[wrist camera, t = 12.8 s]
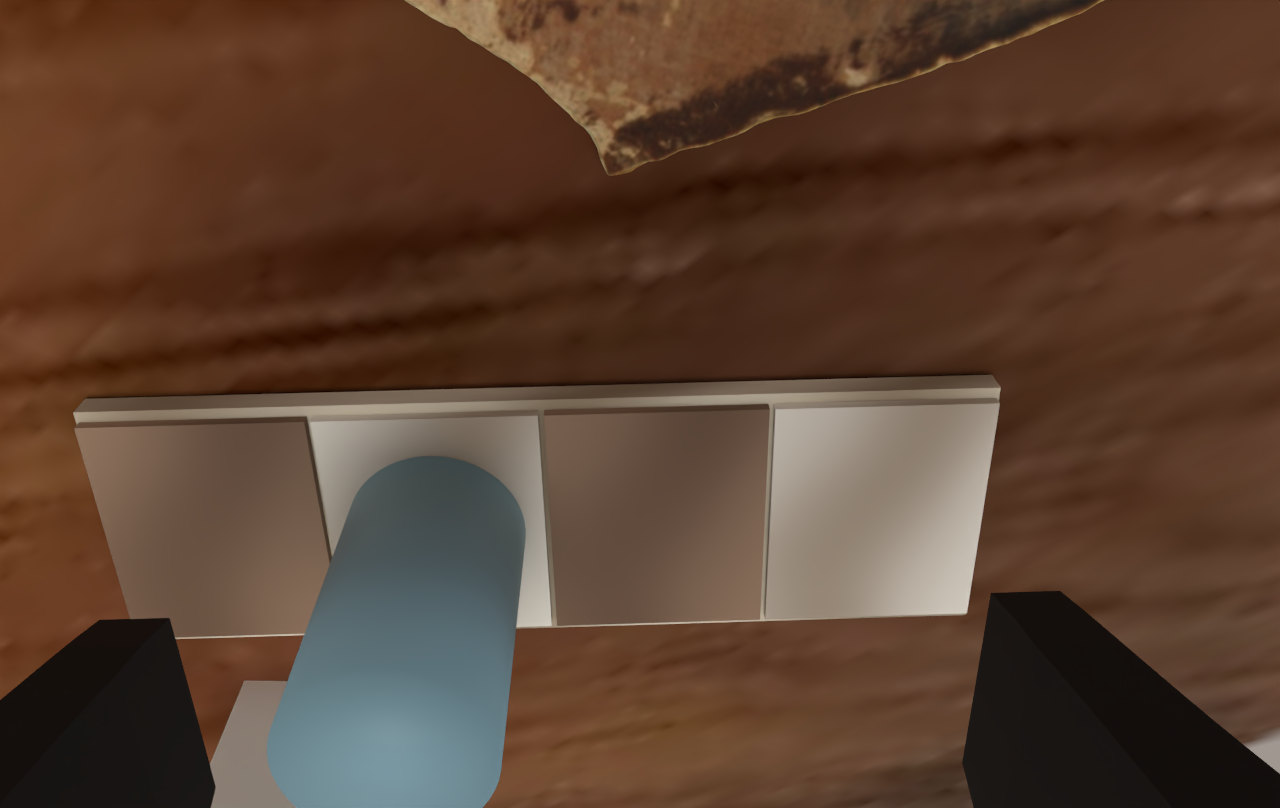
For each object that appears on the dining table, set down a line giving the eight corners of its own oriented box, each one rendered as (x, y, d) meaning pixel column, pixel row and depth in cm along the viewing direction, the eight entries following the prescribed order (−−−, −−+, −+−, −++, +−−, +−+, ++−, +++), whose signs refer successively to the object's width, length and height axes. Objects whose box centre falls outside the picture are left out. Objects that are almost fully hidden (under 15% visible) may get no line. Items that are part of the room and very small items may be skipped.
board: (992, 374, 20) (1004, 392, 19) (958, 598, 22) (968, 621, 21) (84, 398, 19) (68, 418, 19) (149, 623, 22) (136, 646, 21)
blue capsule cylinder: (533, 465, 20) (510, 682, 15) (517, 609, 21) (492, 848, 16) (349, 446, 19) (264, 661, 14) (346, 593, 21) (268, 832, 16)
